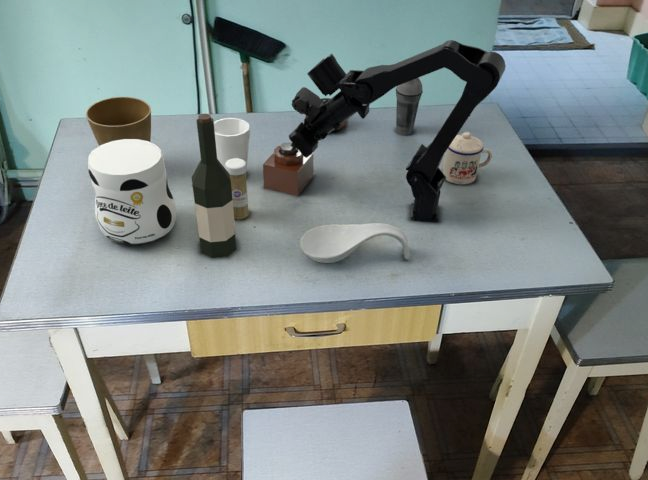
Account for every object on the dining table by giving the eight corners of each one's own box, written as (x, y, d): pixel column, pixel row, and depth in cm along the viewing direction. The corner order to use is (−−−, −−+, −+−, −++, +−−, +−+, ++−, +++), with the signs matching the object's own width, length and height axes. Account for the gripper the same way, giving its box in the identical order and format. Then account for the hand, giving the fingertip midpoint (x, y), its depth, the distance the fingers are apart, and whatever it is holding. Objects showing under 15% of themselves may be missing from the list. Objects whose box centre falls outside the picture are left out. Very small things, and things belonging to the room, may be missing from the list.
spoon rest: (301, 272, 141) (301, 244, 136) (299, 239, 150) (299, 212, 144) (412, 270, 142) (416, 243, 137) (404, 238, 151) (408, 211, 146)
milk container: (101, 257, 143) (82, 182, 131) (98, 213, 155) (80, 141, 142) (183, 245, 147) (172, 172, 134) (174, 203, 159) (163, 132, 146)
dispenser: (313, 176, 169) (313, 145, 163) (297, 196, 162) (297, 164, 156) (280, 169, 171) (280, 138, 165) (263, 188, 164) (262, 156, 158)
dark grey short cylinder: (299, 152, 162) (299, 144, 161) (292, 160, 159) (292, 151, 158) (284, 149, 163) (284, 140, 162) (277, 156, 160) (277, 148, 159)
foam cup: (209, 182, 166) (204, 133, 157) (222, 164, 172) (217, 115, 163) (245, 187, 164) (242, 138, 155) (257, 169, 171) (254, 120, 162)
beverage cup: (417, 125, 190) (426, 54, 176) (417, 138, 185) (427, 65, 170) (391, 124, 190) (399, 52, 176) (391, 136, 185) (398, 63, 171)
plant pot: (89, 169, 169) (74, 108, 158) (141, 150, 176) (130, 91, 165) (119, 193, 161) (105, 131, 150) (172, 173, 168) (162, 112, 157)
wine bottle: (231, 260, 143) (218, 129, 122) (193, 255, 144) (175, 124, 123) (242, 238, 149) (232, 109, 128) (206, 233, 150) (190, 104, 129)
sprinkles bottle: (231, 221, 154) (227, 169, 144) (227, 210, 157) (223, 158, 147) (251, 218, 155) (248, 166, 145) (246, 208, 158) (243, 156, 148)
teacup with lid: (445, 186, 167) (453, 143, 159) (437, 167, 173) (444, 125, 165) (492, 184, 168) (502, 141, 160) (482, 166, 174) (491, 123, 166)
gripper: (329, 64, 152) (285, 102, 163) (297, 97, 140) (252, 135, 151) (359, 104, 156) (315, 139, 167) (331, 139, 144) (284, 174, 154)
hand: (292, 145), depth 159 cm, fingers closed, pressing on dark grey short cylinder
